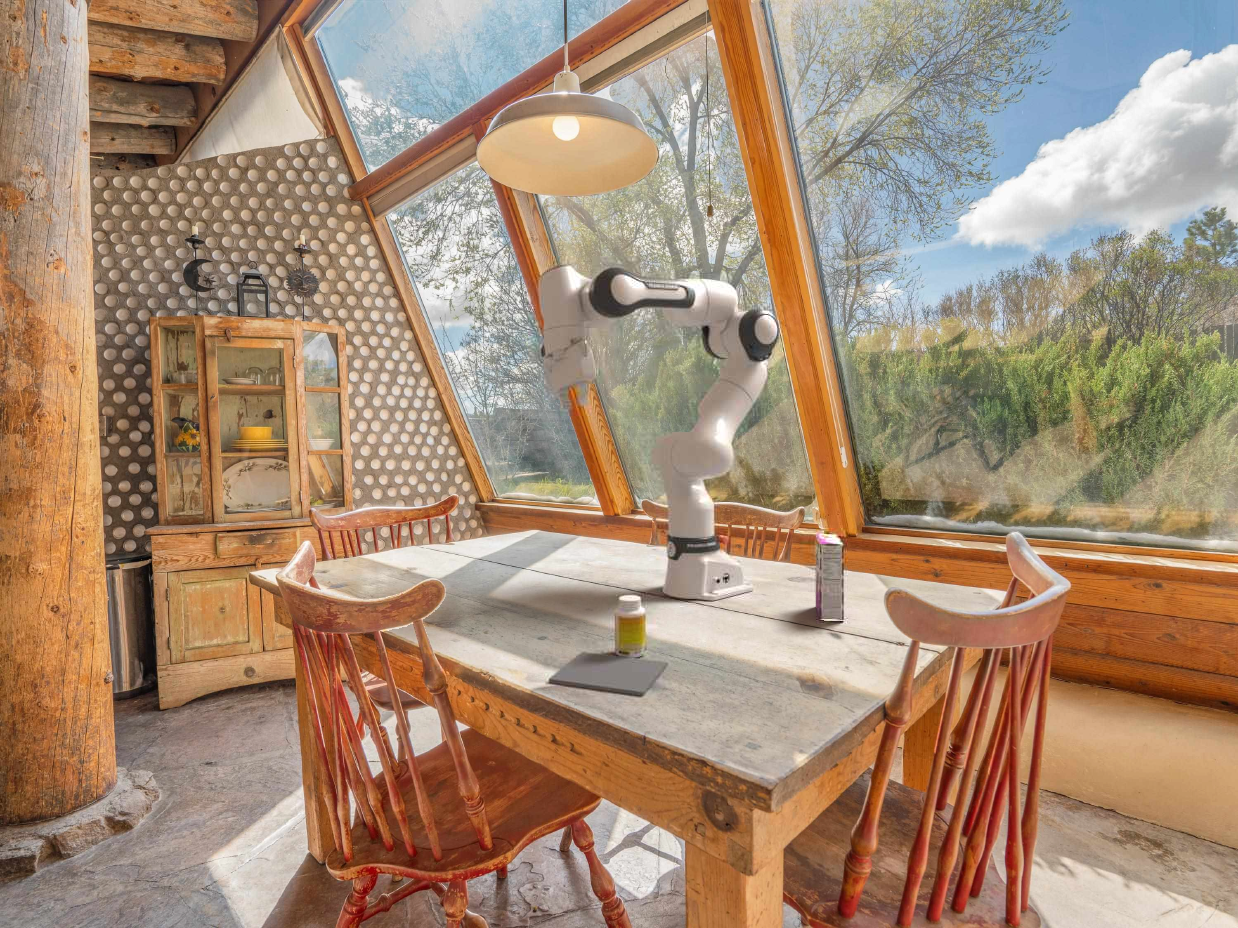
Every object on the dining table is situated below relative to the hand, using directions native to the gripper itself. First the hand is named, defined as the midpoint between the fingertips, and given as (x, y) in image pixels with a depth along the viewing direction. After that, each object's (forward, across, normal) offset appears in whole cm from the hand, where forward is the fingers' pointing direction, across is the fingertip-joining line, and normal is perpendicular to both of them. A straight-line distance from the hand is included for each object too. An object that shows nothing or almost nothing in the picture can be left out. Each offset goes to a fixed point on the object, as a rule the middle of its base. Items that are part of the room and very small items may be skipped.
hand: (575, 407), depth 140 cm
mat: (+46, -31, +13) cm, 58 cm away
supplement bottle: (+47, -24, +6) cm, 53 cm away
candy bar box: (+52, -23, -42) cm, 70 cm away
